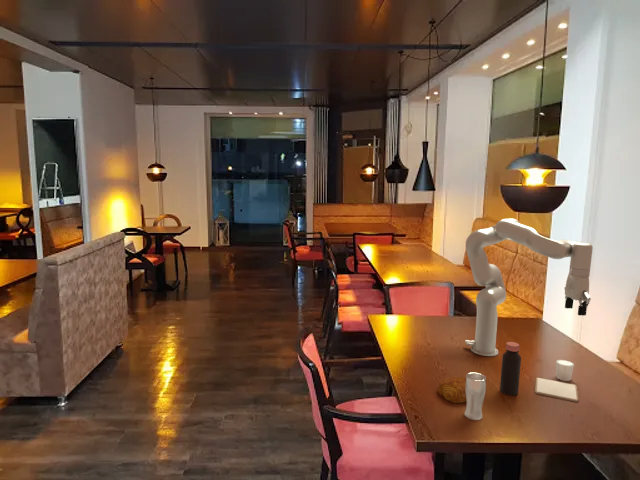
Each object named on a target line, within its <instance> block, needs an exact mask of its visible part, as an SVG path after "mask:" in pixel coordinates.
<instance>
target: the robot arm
mask: <svg viewBox="0 0 640 480" xmlns="http://www.w3.org/2000/svg"><path fill="white" fill-rule="evenodd" d="M505 240H506V241H507V240H508V241H511V242H514V243H517V244H519V245H522V246H525V247H527V248H528V249H529V250H532V251H533V252H535V253H537V254H539V255H542V256H545V257H547V258H550V259H553V260H561V259H564V258H570V262H569V272H568V275H567V278H566V281H565V287H564V298H565V302H564V308H565V309H573V307H574V301H578V303H579V305H578V307H577V308H578V309H577V316H587V311H588V310H587V309H588V306H589V304H590V302H591V300H592V298H591V296H590V295H589V293H590V276H591V275H590V273H591V264H592V257H593V250H594V249H593V245H592V244H591V243H589V242H582V241H581V242H580V241H577V242H576V241H572V240H569V239H559V240H554V239H551V238H548V237H545V236H542V235H541V234H539V233H538V232H537V231H536V229H535V228H534V227H531V226H528V225H525V224H523V223H520V221H519V220H518V219H517V218H512V217H511V218H509V217H508V218H503V219H499V221H497V223H496V224H495V225H492V226H490V227H486V228H480V229H476V230H474V231H473V232H471V233H470V234H469V235H468V236H467V238H466V241H465V251H466V256H467V257H468V258H467V259H468V261H469V267H470V269H471V273H472V277H473V281H474V283H475V284H477V285H478V286H481V287H484V286H485V288H483V289H481V290H479V291H478V292H477V295H476V298H475V303H476V318H475V319H476V320H475V321H476V322H475V336H474V340H469V339H465V345H466V346H470V351H471V352H472V353H474V354H476V355H477V356H484V357H495V356H498V355H499V350H498V348H496V346H497V345H496V342H497V332H498V331H497V329H498V319H499V317H498V310H497V306H499V305H501V304H502V303H504V302H505V301H506V299H507V290H506V286H505V283H504V278H503V275H502V271H501V269H499V267H498V266H497V265H495V264H493V263H489V259H488V255H487V253H486V252H485V250H484V248H485V247H488V246H489V247H490V246H494V245H496V244H499V243H500V242H503V241H505Z"/></svg>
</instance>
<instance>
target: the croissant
mask: <svg viewBox="0 0 640 480" xmlns="http://www.w3.org/2000/svg"><path fill="white" fill-rule="evenodd" d="M439 382H440V383H439V384H438V388H437V391H438V394H439V395H440V396H441V397H444V399H446V400H447V401H449V402H451V403H454V404H460V403H466V395H465V383H466V377H463V376H450V377H446V378H443V379H442V380H440V381H439Z"/></svg>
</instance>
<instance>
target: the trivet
mask: <svg viewBox="0 0 640 480" xmlns="http://www.w3.org/2000/svg"><path fill="white" fill-rule="evenodd" d="M534 389H535V390H534V393H535V394H536V395H540V396H544V397H549V398H555V399H559V400H564V401H568V402H574V403H579V393H578V386H577V385H576V384H574V383H569V382H565V381H557V380H552V379H548V378H542V377H537V376H536V378H535V388H534Z"/></svg>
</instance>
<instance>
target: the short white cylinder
mask: <svg viewBox="0 0 640 480" xmlns="http://www.w3.org/2000/svg"><path fill="white" fill-rule="evenodd" d="M574 366H575V364H574V362H572V361H570V360H567V359H566V360H565V359H557V360H556V361H555V368H556V369H555V374H556V375H555V376H556V378H557V380H559V379H560V381H562V382H570V381H572V376H573V372H574V368H575V367H574Z"/></svg>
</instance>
